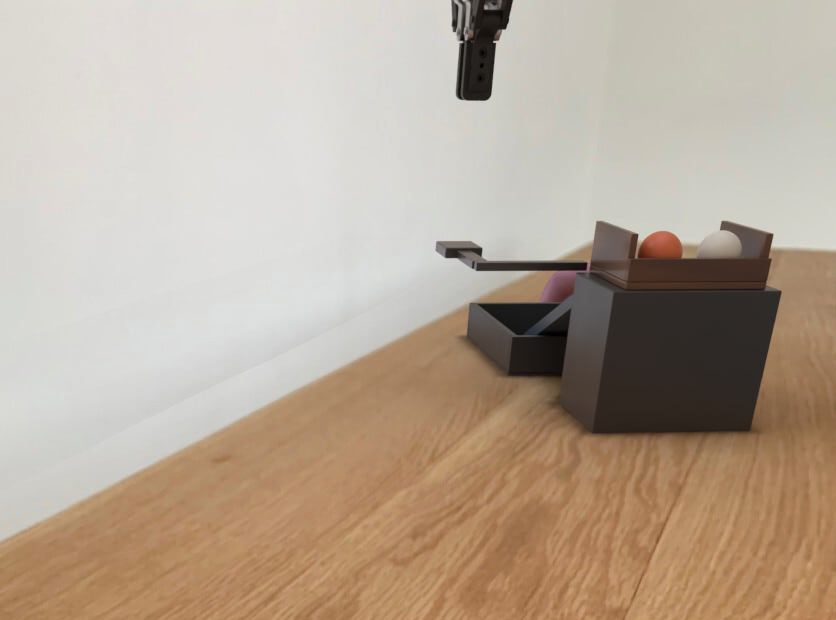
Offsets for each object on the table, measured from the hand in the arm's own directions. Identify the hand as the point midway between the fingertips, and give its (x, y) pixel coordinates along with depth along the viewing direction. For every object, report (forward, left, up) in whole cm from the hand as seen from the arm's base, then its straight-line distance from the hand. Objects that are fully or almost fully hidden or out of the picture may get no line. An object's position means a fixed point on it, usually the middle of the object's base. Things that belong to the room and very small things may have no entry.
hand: (472, 99), depth 84 cm
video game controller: (-18, -27, -21) cm, 38 cm away
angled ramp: (-13, -2, -21) cm, 25 cm away
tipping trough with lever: (-9, +6, -11) cm, 15 cm away
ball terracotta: (-12, +14, -9) cm, 20 cm away
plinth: (-14, +12, -21) cm, 28 cm away
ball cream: (-16, +13, -9) cm, 23 cm away
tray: (-12, -10, -21) cm, 26 cm away
